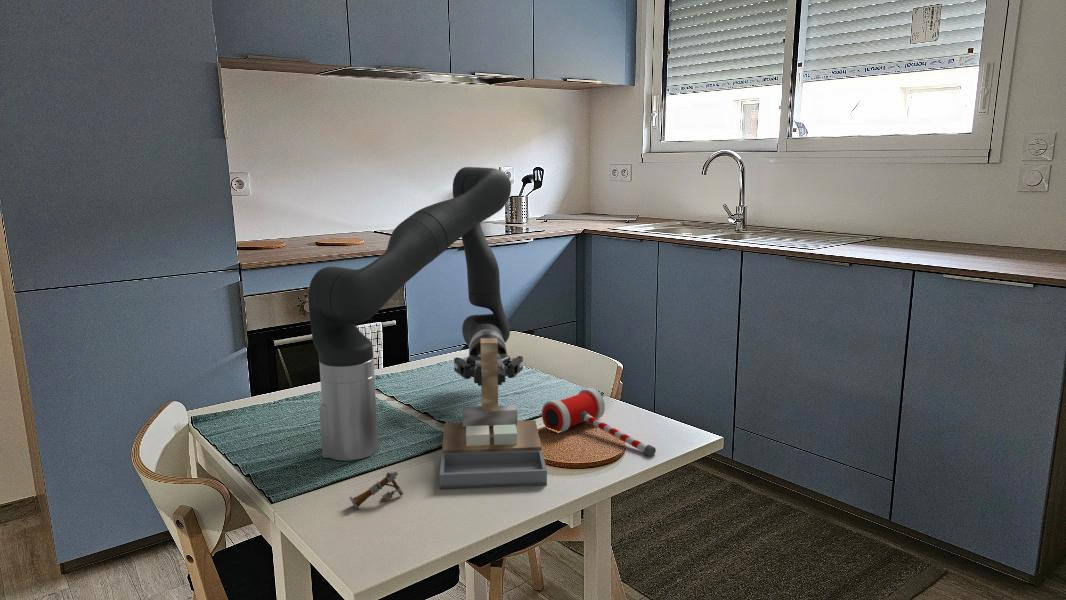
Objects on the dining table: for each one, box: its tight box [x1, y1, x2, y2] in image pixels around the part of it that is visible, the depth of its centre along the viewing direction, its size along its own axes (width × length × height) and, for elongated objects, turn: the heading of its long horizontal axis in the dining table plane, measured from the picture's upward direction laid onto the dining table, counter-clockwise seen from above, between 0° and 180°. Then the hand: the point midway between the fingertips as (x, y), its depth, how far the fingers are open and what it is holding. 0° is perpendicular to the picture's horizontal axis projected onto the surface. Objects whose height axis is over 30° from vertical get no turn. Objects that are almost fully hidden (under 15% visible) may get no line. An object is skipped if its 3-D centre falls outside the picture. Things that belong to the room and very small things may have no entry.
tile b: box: [493, 424, 517, 445], centre depth 126 cm, size 4×4×2 cm
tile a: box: [466, 425, 490, 446], centre depth 126 cm, size 4×4×2 cm
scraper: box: [462, 338, 518, 427], centre depth 131 cm, size 10×3×16 cm, turn 95°
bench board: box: [441, 419, 543, 454], centre depth 129 cm, size 17×12×3 cm
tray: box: [439, 449, 548, 490], centre depth 119 cm, size 17×8×2 cm, turn 95°
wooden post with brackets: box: [348, 470, 404, 511], centre depth 111 cm, size 2×8×4 cm, turn 120°
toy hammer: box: [541, 387, 657, 457], centre depth 135 cm, size 23×12×6 cm, turn 43°
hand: (490, 380), depth 128 cm, fingers closed on scraper, 3 cm apart
